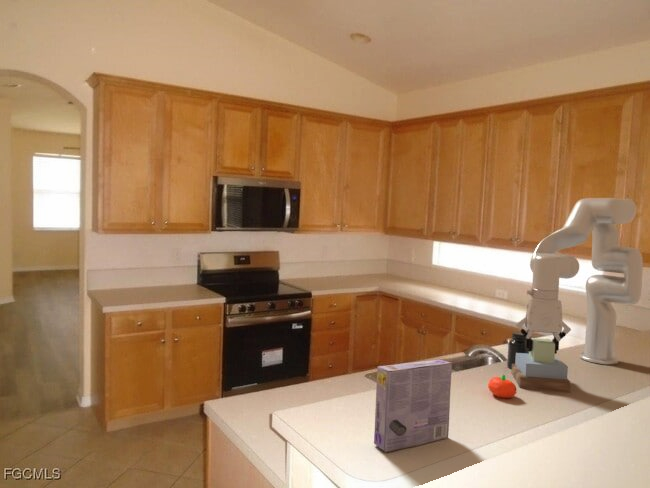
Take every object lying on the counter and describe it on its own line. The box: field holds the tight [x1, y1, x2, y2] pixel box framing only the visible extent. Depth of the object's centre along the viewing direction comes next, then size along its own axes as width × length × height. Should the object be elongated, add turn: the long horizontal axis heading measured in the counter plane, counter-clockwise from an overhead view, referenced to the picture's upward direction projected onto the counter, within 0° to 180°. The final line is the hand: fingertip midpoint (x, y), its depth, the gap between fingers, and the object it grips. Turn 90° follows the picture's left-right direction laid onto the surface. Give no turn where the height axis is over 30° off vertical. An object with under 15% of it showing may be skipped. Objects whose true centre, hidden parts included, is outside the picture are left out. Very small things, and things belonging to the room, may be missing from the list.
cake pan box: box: [373, 359, 453, 454], centre depth 109 cm, size 19×5×18 cm, turn 118°
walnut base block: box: [511, 364, 571, 393], centre depth 152 cm, size 14×14×4 cm
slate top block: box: [515, 353, 569, 379], centre depth 153 cm, size 12×12×4 cm
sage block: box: [529, 337, 556, 363], centre depth 152 cm, size 6×6×6 cm
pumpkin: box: [487, 374, 517, 399], centre depth 140 cm, size 7×8×6 cm
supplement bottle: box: [506, 331, 529, 370], centre depth 167 cm, size 7×7×12 cm
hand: (541, 351), depth 152 cm, fingers open, 6 cm apart
